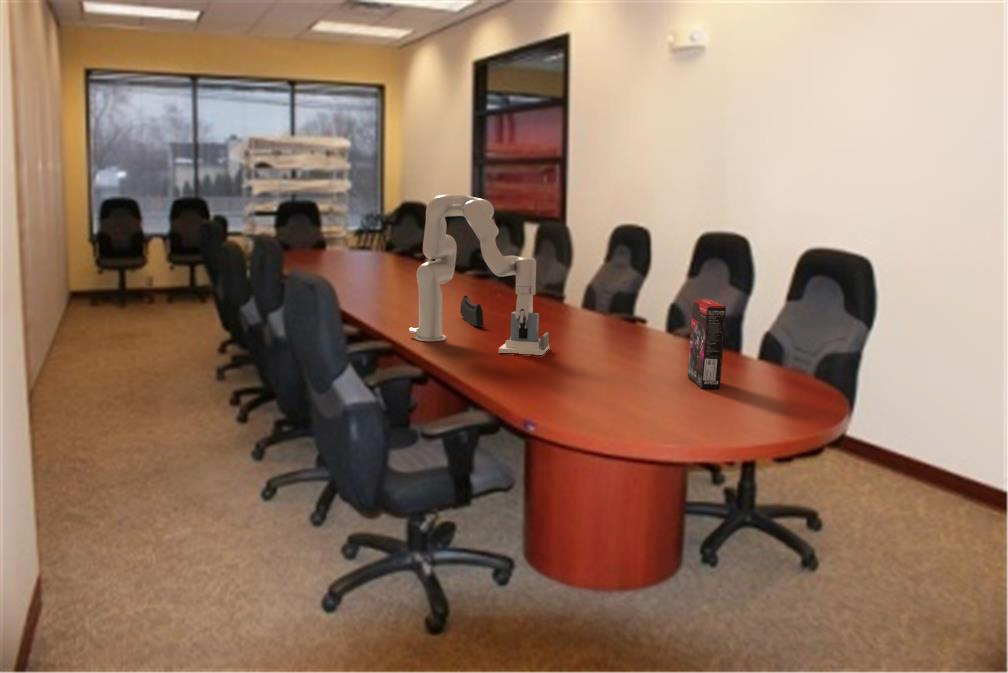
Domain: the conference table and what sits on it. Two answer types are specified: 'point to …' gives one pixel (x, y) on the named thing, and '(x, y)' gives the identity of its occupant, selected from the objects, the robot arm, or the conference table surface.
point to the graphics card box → (706, 343)
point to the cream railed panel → (526, 346)
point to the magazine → (471, 312)
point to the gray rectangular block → (531, 325)
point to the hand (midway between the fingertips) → (524, 336)
